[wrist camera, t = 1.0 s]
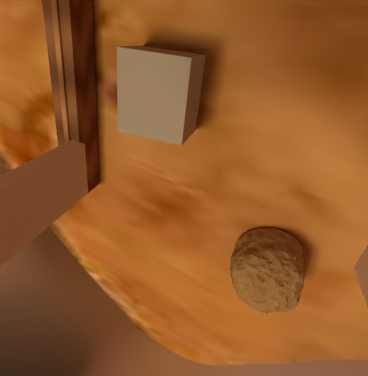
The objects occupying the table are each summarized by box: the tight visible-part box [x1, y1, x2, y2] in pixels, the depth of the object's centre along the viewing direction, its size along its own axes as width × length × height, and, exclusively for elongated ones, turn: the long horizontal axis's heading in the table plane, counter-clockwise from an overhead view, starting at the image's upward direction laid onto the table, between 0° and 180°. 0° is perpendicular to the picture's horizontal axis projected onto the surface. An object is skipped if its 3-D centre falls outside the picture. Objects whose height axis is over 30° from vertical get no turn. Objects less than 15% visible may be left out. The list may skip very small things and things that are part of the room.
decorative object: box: [230, 228, 305, 313], centre depth 35 cm, size 9×10×10 cm
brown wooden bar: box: [42, 0, 99, 192], centre depth 31 cm, size 30×3×4 cm, turn 172°
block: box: [117, 46, 206, 146], centre depth 29 cm, size 8×7×6 cm
